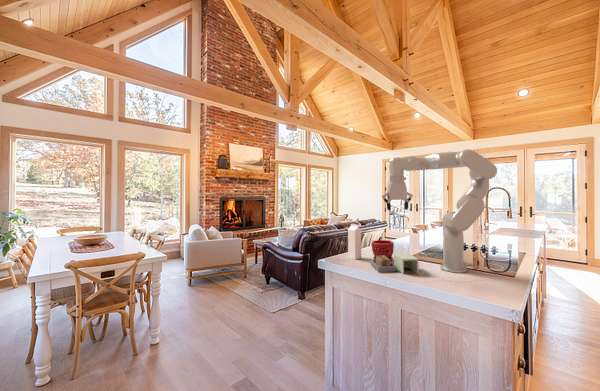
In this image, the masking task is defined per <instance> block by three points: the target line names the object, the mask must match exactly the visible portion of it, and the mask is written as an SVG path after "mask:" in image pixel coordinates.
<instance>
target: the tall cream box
mask: <svg viewBox="0 0 600 391" xmlns="http://www.w3.org/2000/svg"><path fill="white" fill-rule="evenodd" d="M393 264H394V265H395V266H397V272H399V273H401V274H402V275H404V274H405V268H408V269H410V270H411V271H413V272H414V273H416V274H417V275H418V274H419V258H418V257H416V256H414V255H412V254H410V253H407V252H405V253H393Z"/></svg>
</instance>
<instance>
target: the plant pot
mask: <svg viewBox="0 0 600 391" xmlns="http://www.w3.org/2000/svg"><path fill="white" fill-rule="evenodd" d="M394 243H395V242H394V241H392V240H381V239H379V240H372V241H371V250H372V253H373V260H376V256H382V255H384V256H386V257H387V258H388V259H390V262H392V261H394V256H393V255H394V248H395V247H394V246H395V244H394Z"/></svg>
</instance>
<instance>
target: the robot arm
mask: <svg viewBox="0 0 600 391" xmlns="http://www.w3.org/2000/svg"><path fill="white" fill-rule="evenodd" d="M388 162H389V164H388V166H389V167H388V168H389V182H388V183H387V190H386V193H385V194H383V195H381V198H382V199H383V201H384V203H385V204H386V210H387V211H391V210H392V209H391V208H392V207H391V206H392V205H391V202H392V201H395V200H396V201H398V200H400V201H401V200H403V201H404V202H403V203H404V204H403V206H404V208H403V209H404V210H405V211H406V210H407V211H408V209H409V203H410V202H411V200H412V199H413V196H414V195H413V194H412V193H410V192H408V189H407V185H406V184H407V183H406V180H407V177H405V171H406V172H412V171H413V172H414V171H415V172H416V171H426V170H427V171H428V170H441V169H442V170H443V169H456V168H465V167H466V168H468V169H469V178H470V180H471V183H470V185H469V187H468V188H467V189H466V191H465V192H464V193H463V195H462V196H461V197H460V198H459V199H458V201H457V202H456V205H455V206H456V209H457V211H448V212H446V213H445V214H443V216H442V219H441V226H442V233H443V238H442V241H443V243H442V244H443V247H442V250H443V252H442V253H443V254H442V255H443V264H441V265H440V269H441V270H442V271H444V272H445V271H446V272H450V273H459V274H460V273H461V274H462V273H463V274H464V273H467V272H468V268H467V267H474V264H473V262H467V261H465V258H464V255H465V253H464V252H465V251H464V248H465V246H464V245H465V244H464V241H465V238H464V237H465V236H464V232H465V231H467V230H468V229H469V228H470V227H471V226H473V224H474V223H475V222H476V221H477V220H478V218H479V217H480V216H481V215H482V213H483V212H484V210H485V207H486V206H485V202H484V198H486V195H487V194H488V193H489V191H490V182H489V181H490V180H492V179H493V178H495V177H496V176H497V174H498V168H497V167H496V166H497V165H495V164H494V163H493V162H492V161H490V160H489V159H487V158H486V157H484V156H483V155H481V154H480V153H478V152H477V151H475V150H473V149H467V148H466V149H464V150H461V151H452V152H439V153H433V154H430V155H427V156H420V157H416V156H413V155H409V156H405V157H392V158H390V159H389V161H388Z"/></svg>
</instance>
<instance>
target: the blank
mask: <svg viewBox="0 0 600 391" xmlns="http://www.w3.org/2000/svg"><path fill="white" fill-rule="evenodd" d="M390 262H391V261H390V259H388V258H387V257H386V256H384V255H382V256H376V264H377V265H378V266H380V267H382V266H390Z"/></svg>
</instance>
